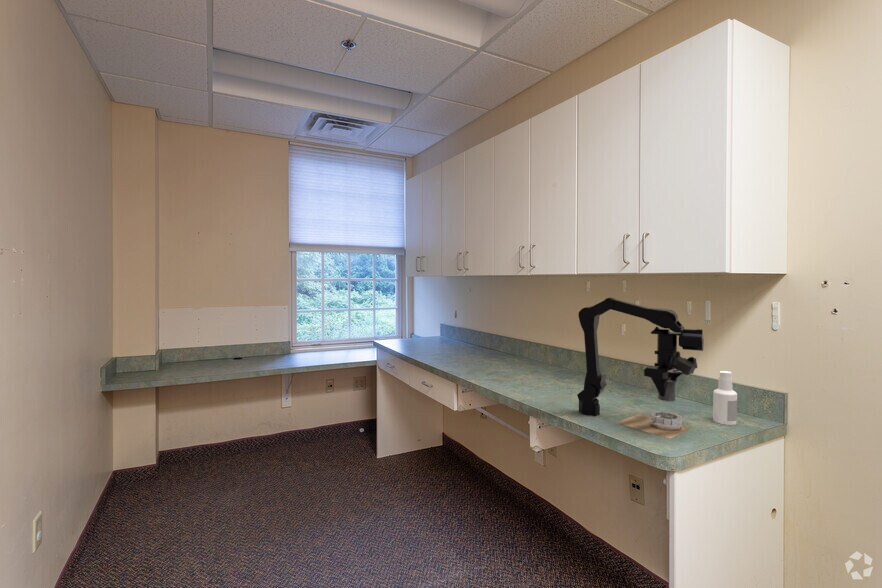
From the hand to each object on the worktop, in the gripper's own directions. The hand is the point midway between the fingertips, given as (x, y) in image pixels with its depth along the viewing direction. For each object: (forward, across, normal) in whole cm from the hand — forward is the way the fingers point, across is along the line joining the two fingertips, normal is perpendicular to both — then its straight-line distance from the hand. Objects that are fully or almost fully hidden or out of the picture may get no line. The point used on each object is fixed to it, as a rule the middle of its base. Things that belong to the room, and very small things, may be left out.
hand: (666, 395), depth 143 cm
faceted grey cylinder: (+10, 0, 0) cm, 10 cm away
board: (+11, -2, +3) cm, 12 cm away
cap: (+1, 0, 0) cm, 1 cm away
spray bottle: (+12, +20, -10) cm, 25 cm away
